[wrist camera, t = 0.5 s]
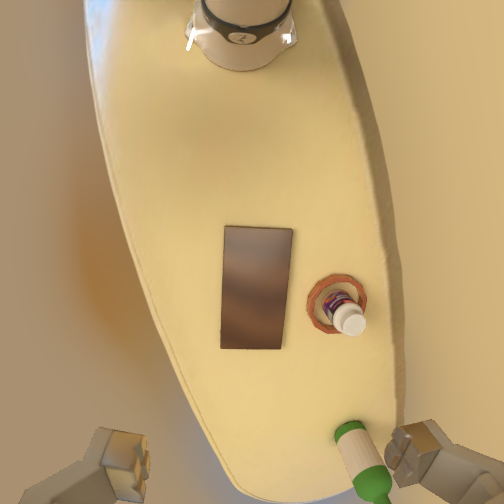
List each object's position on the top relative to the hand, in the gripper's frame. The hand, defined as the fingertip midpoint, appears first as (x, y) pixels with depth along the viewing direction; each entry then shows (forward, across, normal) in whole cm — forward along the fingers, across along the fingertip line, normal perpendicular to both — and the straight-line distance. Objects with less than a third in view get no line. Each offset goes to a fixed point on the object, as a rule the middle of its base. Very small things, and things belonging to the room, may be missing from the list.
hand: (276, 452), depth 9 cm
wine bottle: (+46, -30, +46) cm, 71 cm away
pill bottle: (+45, -19, +12) cm, 51 cm away
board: (+45, -4, +10) cm, 46 cm away
